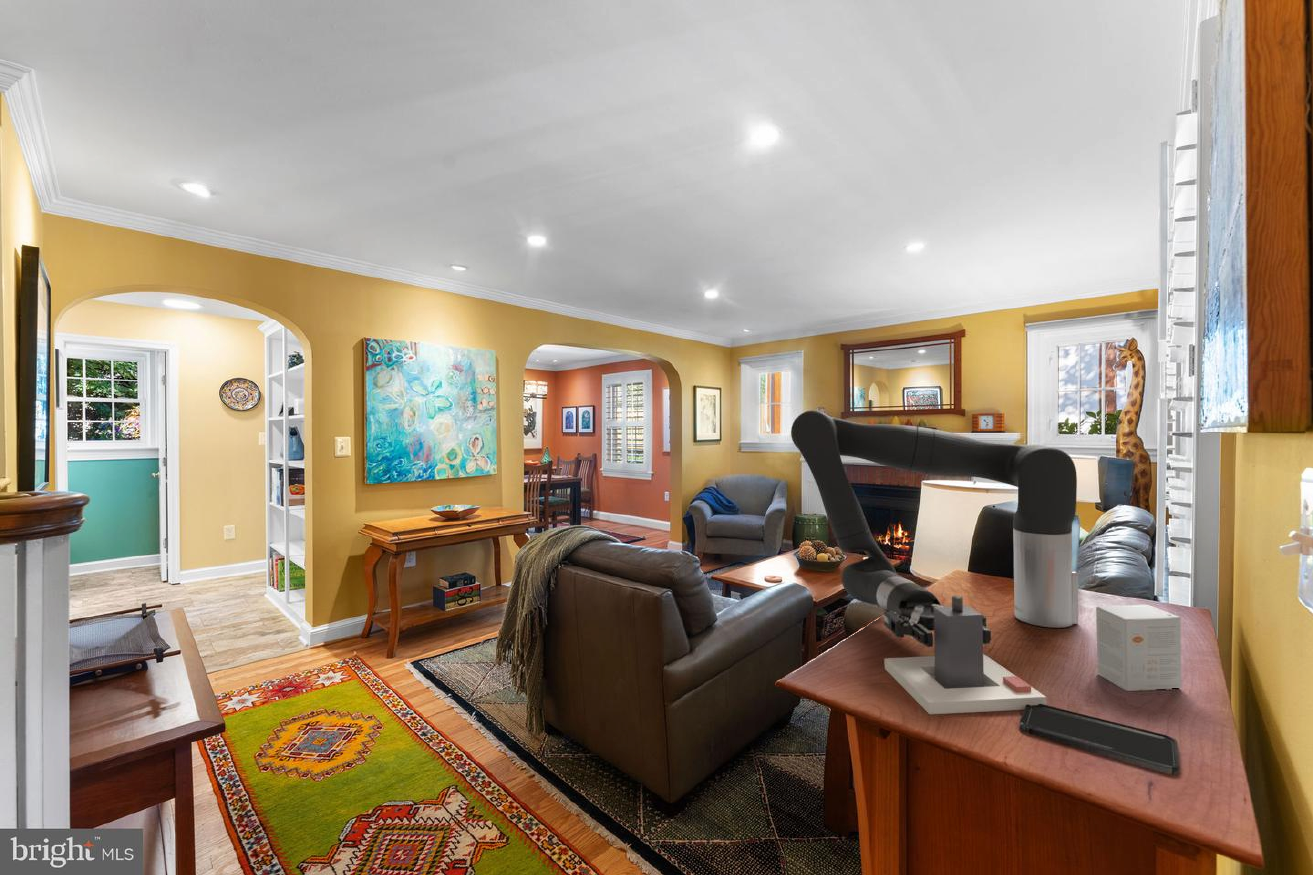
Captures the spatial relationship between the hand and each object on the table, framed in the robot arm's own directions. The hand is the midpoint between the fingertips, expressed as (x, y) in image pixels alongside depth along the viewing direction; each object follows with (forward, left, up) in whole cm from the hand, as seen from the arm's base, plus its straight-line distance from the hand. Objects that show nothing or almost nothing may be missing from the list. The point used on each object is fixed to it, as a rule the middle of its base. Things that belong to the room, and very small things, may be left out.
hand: (959, 639), depth 83 cm
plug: (0, 0, -7) cm, 7 cm away
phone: (-9, +14, -8) cm, 18 cm away
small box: (-26, +1, -7) cm, 27 cm away
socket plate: (0, 0, -7) cm, 7 cm away
